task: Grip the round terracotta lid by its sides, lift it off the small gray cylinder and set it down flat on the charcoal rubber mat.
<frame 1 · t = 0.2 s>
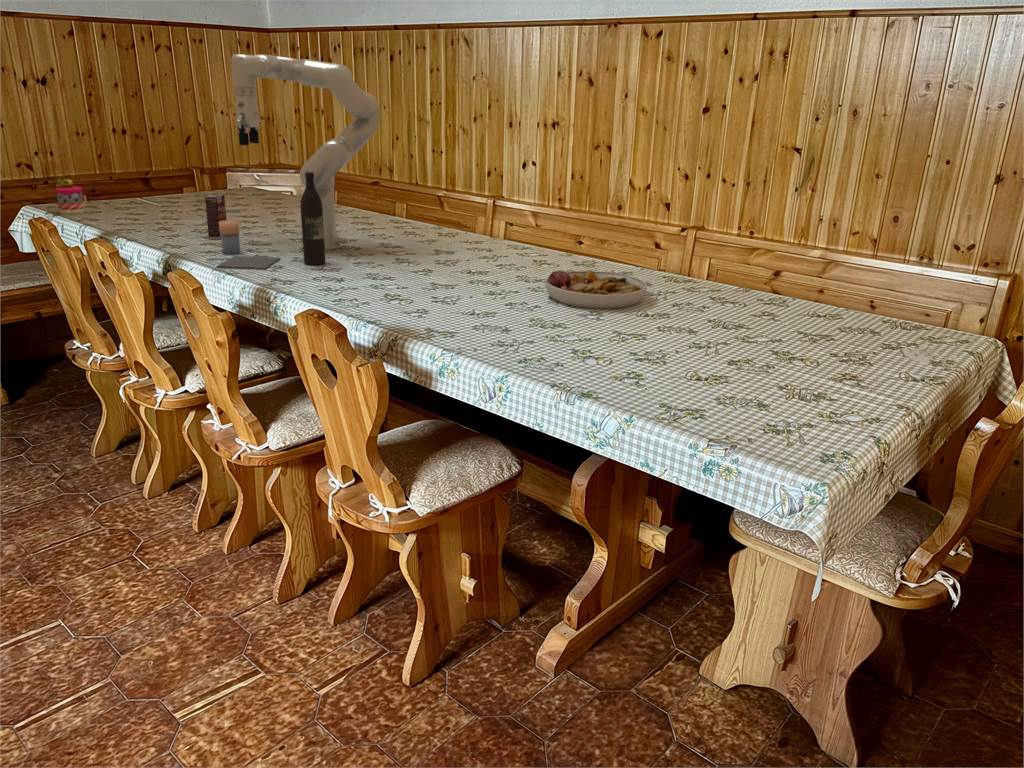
hand: (249, 144, 279), 36 cm above the table, tool pointing down, fingers open, 9 cm apart
mat: (249, 263, 264), on the table
bowl 2: (594, 299, 236), on the table
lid: (229, 232, 277), point 7 cm above the table, touching gray cylinder
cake: (72, 213, 346), on the table
wine bottle: (314, 263, 267), on the table
supplement box: (218, 237, 305), on the table
gray cylinder: (231, 252, 279), on the table
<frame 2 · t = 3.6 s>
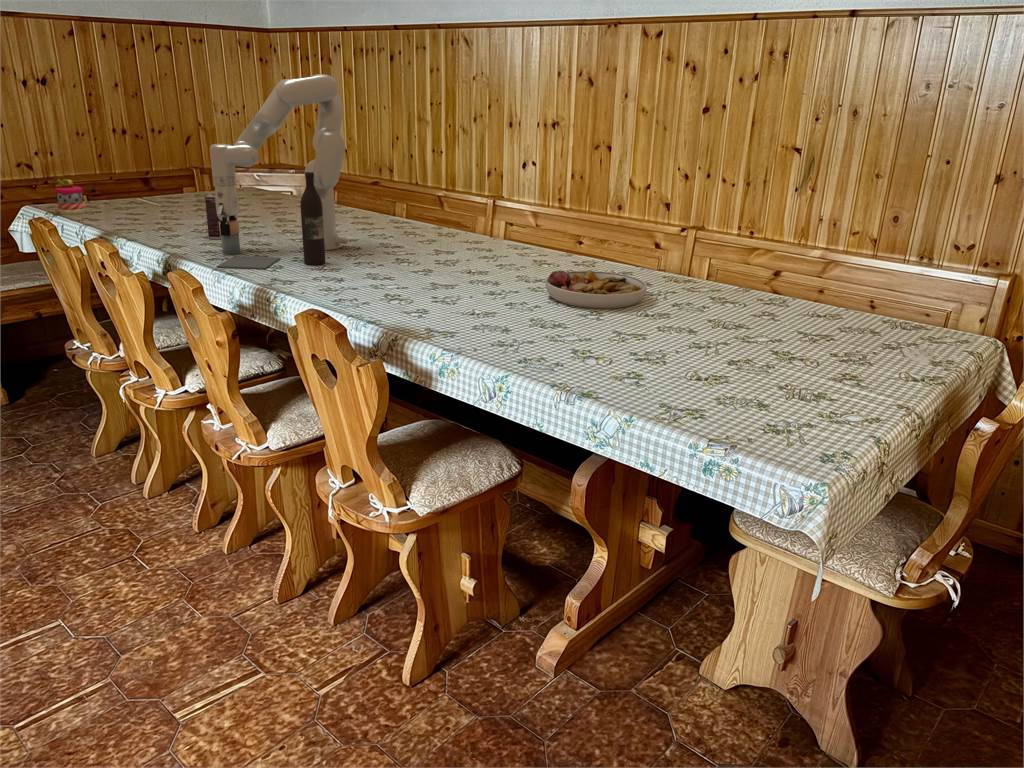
hand: (229, 233, 277), 7 cm above the table, tool pointing down, fingers closed on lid, 6 cm apart
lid: (229, 232, 277), point 7 cm above the table, touching gray cylinder, gripper
everything else where it was.
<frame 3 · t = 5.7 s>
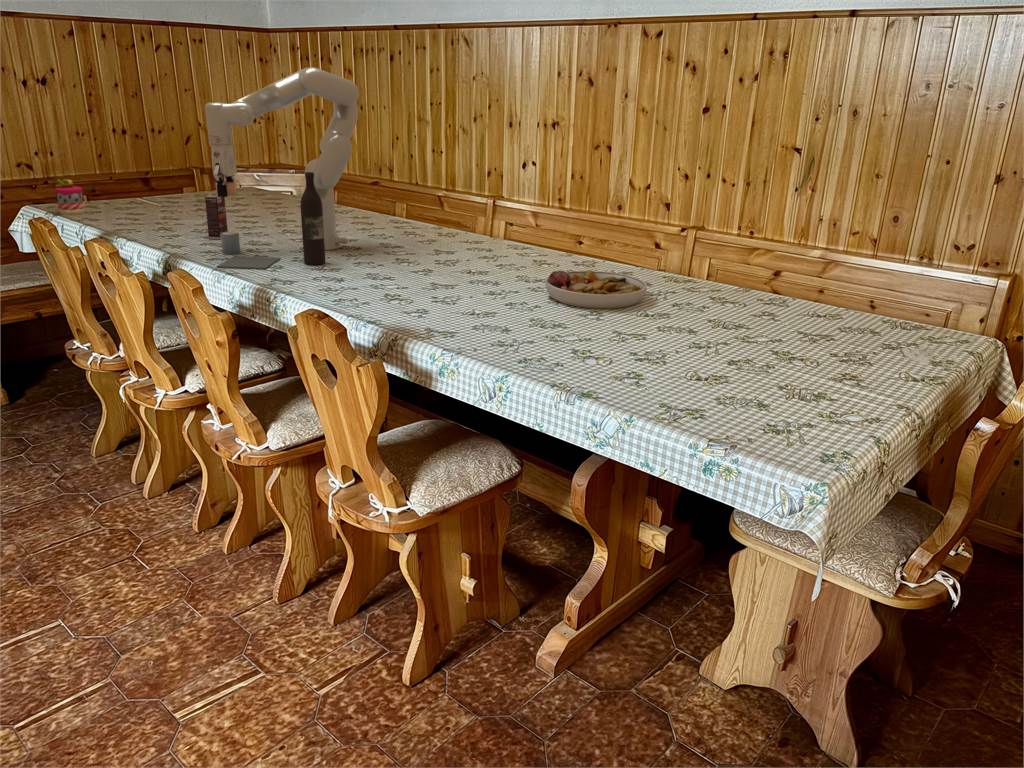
hand: (226, 194, 272), 20 cm above the table, tool pointing down, fingers closed on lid, 6 cm apart
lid: (226, 194, 272), point 20 cm above the table, touching gripper
everything else where it was.
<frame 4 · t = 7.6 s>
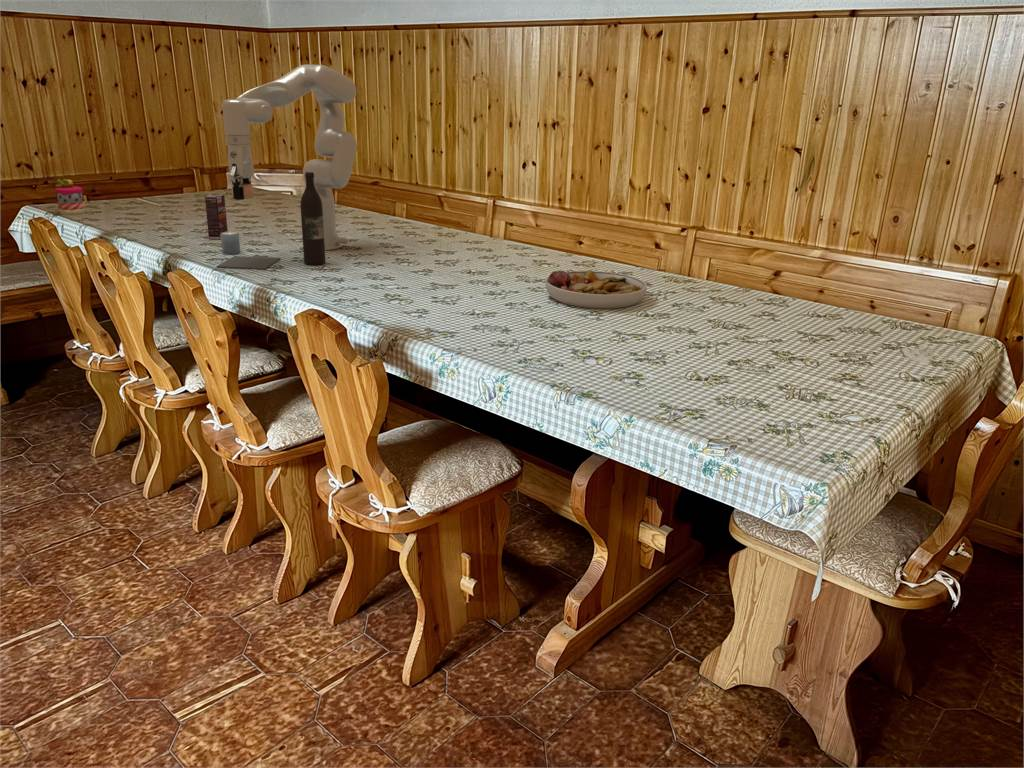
hand: (243, 197, 256), 22 cm above the table, tool pointing down, fingers closed on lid, 6 cm apart
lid: (243, 197, 256), point 22 cm above the table, touching gripper
everything else where it was.
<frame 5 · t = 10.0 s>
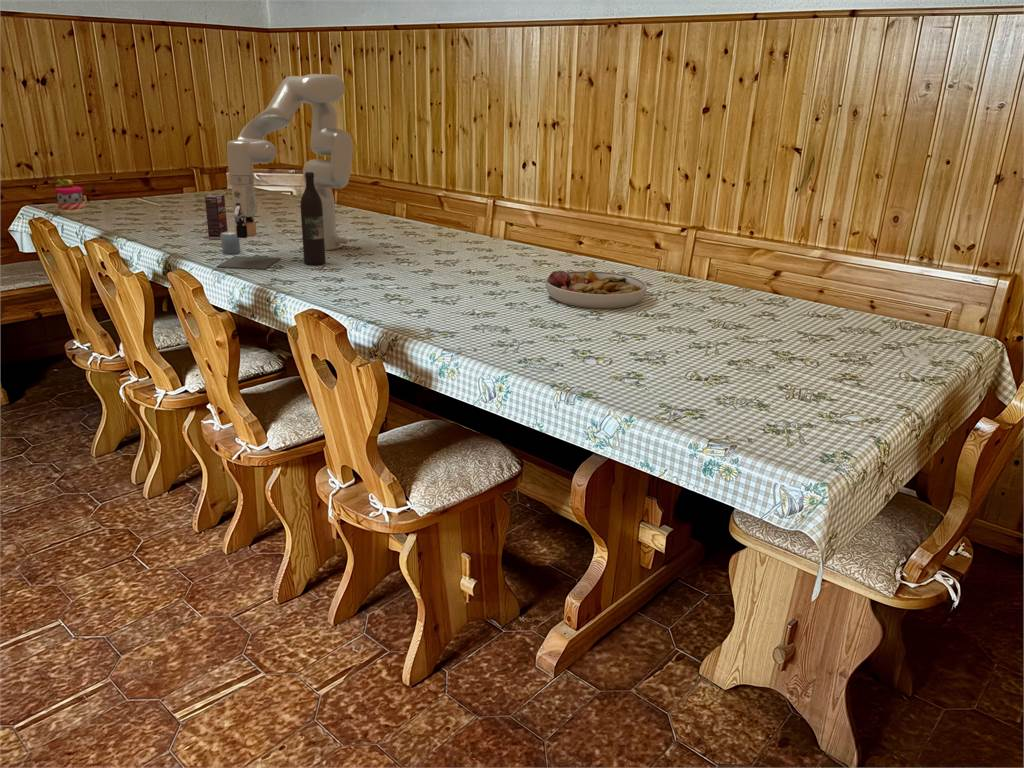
hand: (246, 235, 260), 9 cm above the table, tool pointing down, fingers closed on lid, 6 cm apart
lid: (246, 235, 260), point 10 cm above the table, touching gripper
everything else where it was.
when the fingers open (2 cm above the table, at t = 12.0 s): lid drops 2 cm, resting on mat.
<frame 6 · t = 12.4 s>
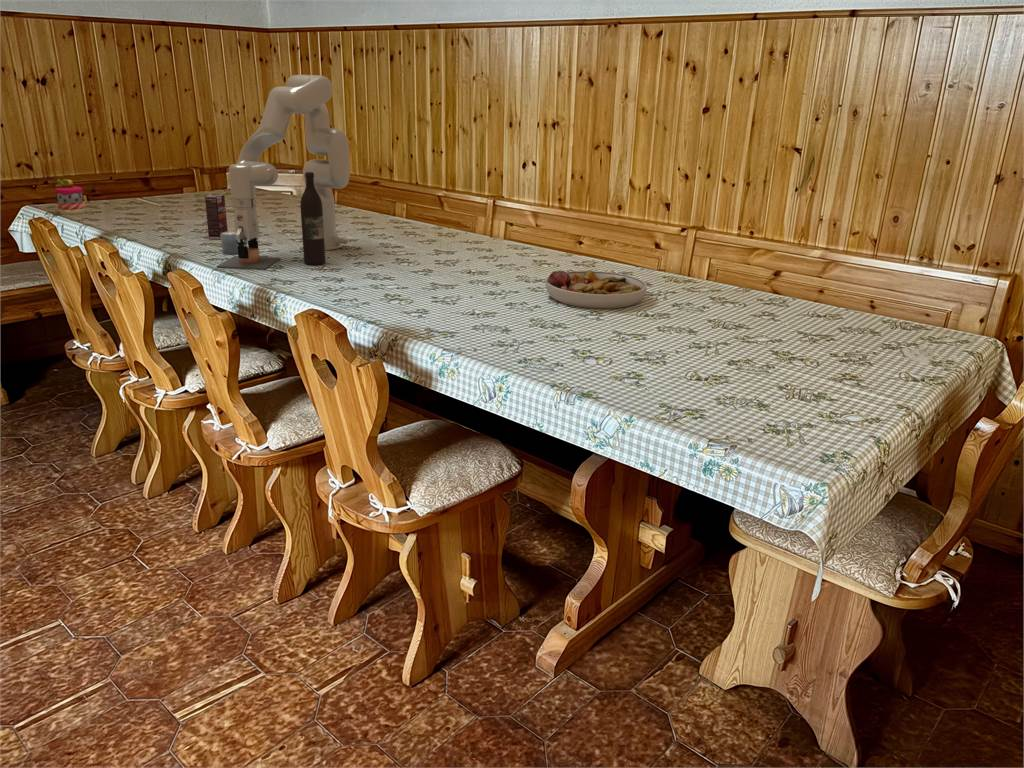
hand: (248, 255, 263), 3 cm above the table, tool pointing down, fingers open, 9 cm apart
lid: (249, 261, 264), point 1 cm above the table, touching mat
everything else where it was.
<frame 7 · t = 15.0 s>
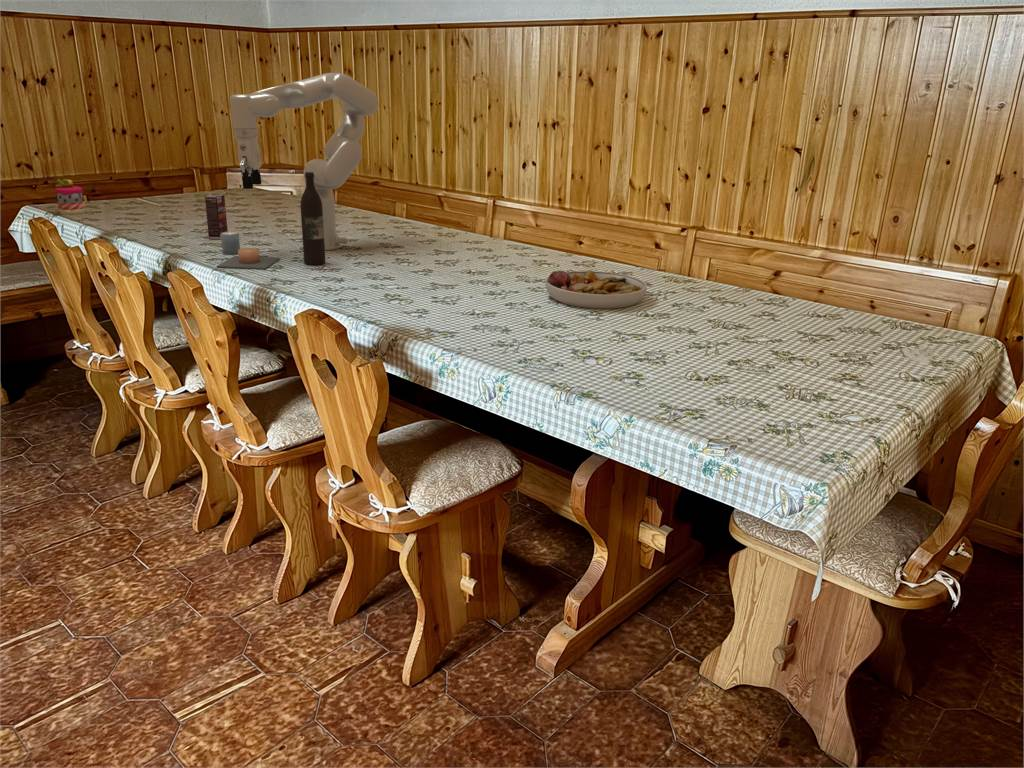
hand: (252, 186, 268), 24 cm above the table, tool pointing down, fingers open, 9 cm apart
nothing on the table moved.
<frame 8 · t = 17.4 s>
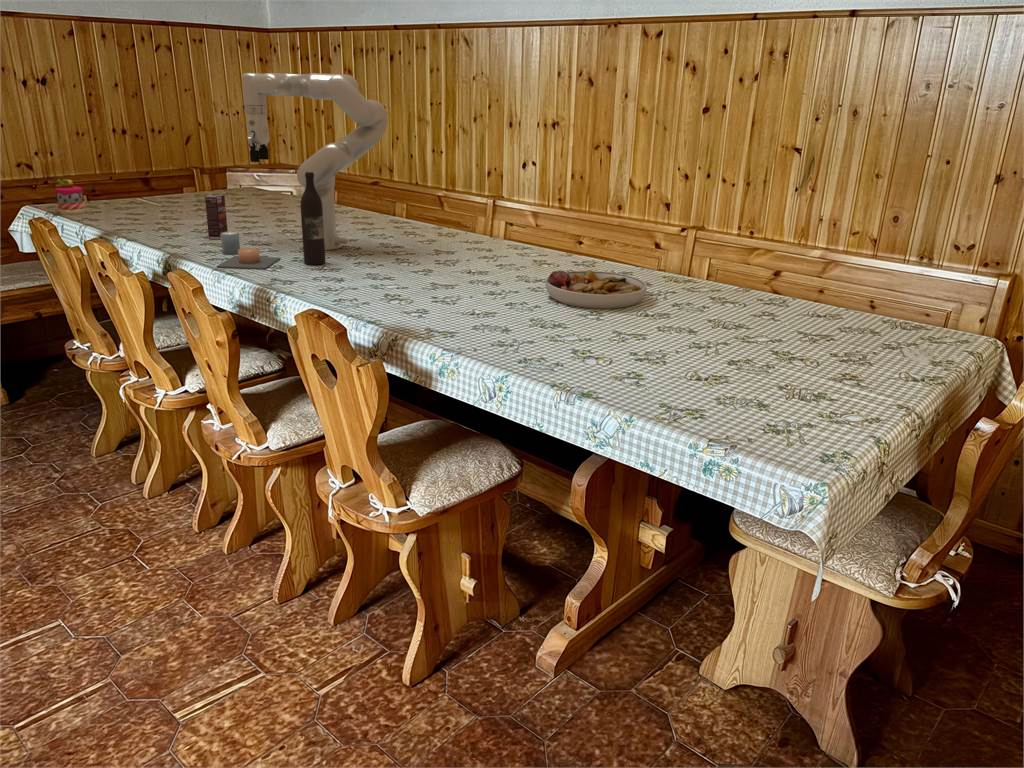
hand: (259, 160, 284), 30 cm above the table, tool pointing down, fingers open, 9 cm apart
nothing on the table moved.
at the end: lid inside the target area on the mat (0.1 cm from its centre), point 0.6 cm above the mat's base; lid tilted 0°; the gripper is holding nothing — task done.
